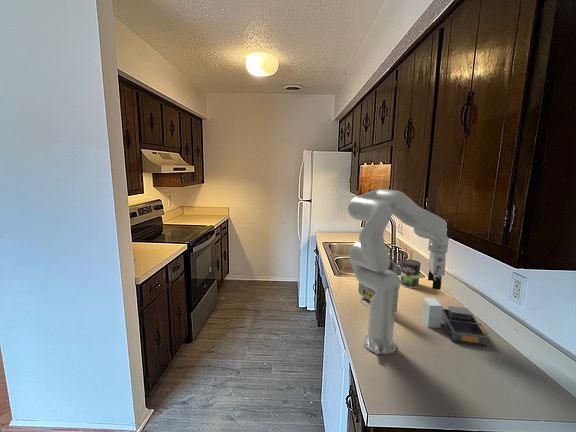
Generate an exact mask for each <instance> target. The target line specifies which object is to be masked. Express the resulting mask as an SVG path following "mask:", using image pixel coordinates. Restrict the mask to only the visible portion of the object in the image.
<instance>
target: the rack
mask: <svg viewBox="0 0 576 432" xmlns="http://www.w3.org/2000/svg"><path fill="white" fill-rule="evenodd" d="M447 314H448V308H442V318H441V322H442V323H443V325H444V327H445V329H446V331H447V335H448V336H449V339H450V341H451V342H453V343H458V344H459V343H460V344H465V345H472V346H478V347H485V348H487V347H488V341H489V337H488V336H487V333H486V331H485V330H484V328H483V327H482V326H481V325H480V324H479V322H478V320H477V319H476V318H475V316H474V315H473V313H472V312H471V314H472V319H471V322H464V321H456V320H449V319H448V318H447Z"/></svg>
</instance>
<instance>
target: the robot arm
mask: <svg viewBox="0 0 576 432" xmlns="http://www.w3.org/2000/svg"><path fill="white" fill-rule="evenodd" d="M347 210H348V213H349V216H350V217H352V218H353V219H355V220H358V221H362V222H366V223H365V225H364V226H363V228H362V229H361V231H360V232H359V236H358V241H356V242H354V243H353V244H352V245H351V246H350V248H349V254H348V258H349V261H350V264H351V267H352V270H353V273H354V275H355V277H356V280H357V282H358V284H359V283H361V284H362V285H364V286H366V287H368V288H370V289H372V290H374V291H375V292H376V293H375V295H374V296H373V297H372V298H371V301H369V304H370V308H368V325H367V326H368V328H367V335H365V336H364V337H363V340H362V344H363V346H364V348H366V349H367V350H369V351H371V352H372V353H374V354H376V355H391V354H394V353H395V352H396V351H397V343H396V341H395V340H394V339H393V338H394V327H395V317H396V316H395V315H396V314H395V306H396V299H397V294H398V295H399V292H398V291H400V287H401V284H400V281H401V277H400V276H399V275H398V274H397V273H396V272H394V271H393V270H391V269H389V268H390V265H391V264H390V263H391V262H390V260H391V259H390V257H389V253H388V249H387V245H386V242H385V237H384V234H385V230H386V228H387V226H388V224H389V222H390V220H391V218H392V215H393V216H394V217H395V218H397V219H398V220H400V222H401V223H403V224H404V225H406V226H409V227H410V228H413V232H414V234H415V235H416V236H418V237H420V238H424V239H426V240H428V247H427V250H428V251H429V259H428V275H427V281H432V288H431V289H433V290H441V289H442V282H443V281H442V279H443V277H442V276H445V275H446V254H447V253H448V249H449V248H448V247H449V240H450V239H451V237H450V238H448V236H447V230H448V229H447V222H446V221H445V220H446V219H444V218H442V217H440V216H439V215H437V214H435V213H433V212H431V211H429V210H427V209H425V208H422V207H420V206H419V205H418V204H417V203H415V201H413V199H411V198H410V197H409V196H408V195H406V194H405V193H404V192H402V191H400V190H394V189H393V190H392V189H384V188H379V189H375V190H371V191H368V192H366V193H363V194H360V195H357V196H355V197H353V198H352V199H351V201H350V202H349V203H348V207H347ZM443 219H444V220H443ZM446 236H447V237H446Z"/></svg>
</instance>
